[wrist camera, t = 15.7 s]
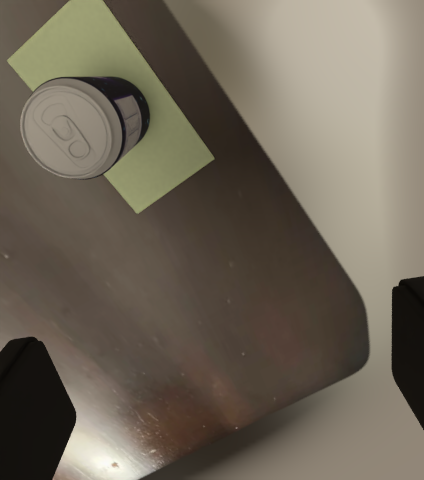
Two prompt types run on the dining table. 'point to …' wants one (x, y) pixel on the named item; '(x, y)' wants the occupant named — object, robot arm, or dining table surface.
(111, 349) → the dining table surface
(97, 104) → the beverage can
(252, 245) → the dining table surface
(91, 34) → the side mat
